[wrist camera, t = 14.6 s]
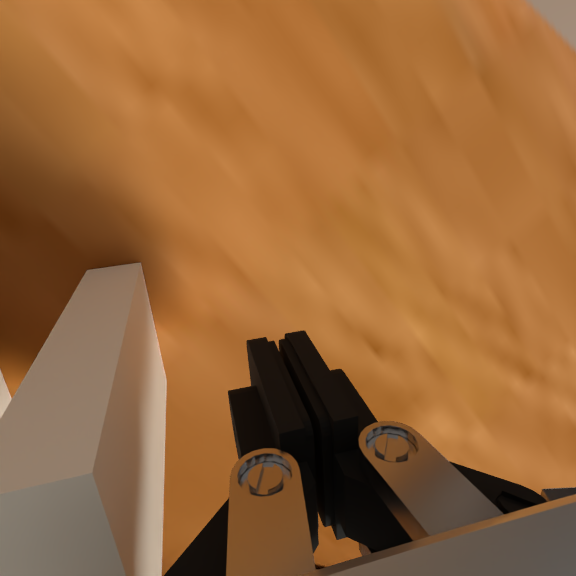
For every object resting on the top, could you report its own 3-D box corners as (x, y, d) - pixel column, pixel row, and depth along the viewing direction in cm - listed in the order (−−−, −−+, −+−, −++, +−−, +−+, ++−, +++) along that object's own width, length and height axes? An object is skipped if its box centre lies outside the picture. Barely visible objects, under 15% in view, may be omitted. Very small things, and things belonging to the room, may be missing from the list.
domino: (141, 262, 15) (91, 472, 6) (166, 380, 17) (159, 674, 8) (87, 270, 15) (-50, 506, 6) (119, 389, 17) (55, 708, 8)
